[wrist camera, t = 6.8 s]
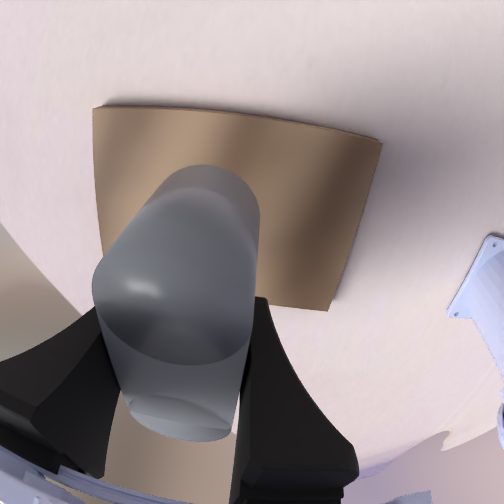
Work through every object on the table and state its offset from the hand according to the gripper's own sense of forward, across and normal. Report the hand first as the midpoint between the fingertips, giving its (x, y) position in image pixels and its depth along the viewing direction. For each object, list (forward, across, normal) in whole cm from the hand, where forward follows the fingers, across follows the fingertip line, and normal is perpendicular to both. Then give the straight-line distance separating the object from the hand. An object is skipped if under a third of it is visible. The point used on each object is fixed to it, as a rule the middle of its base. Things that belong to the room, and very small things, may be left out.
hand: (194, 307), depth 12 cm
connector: (+1, 0, +1) cm, 2 cm away
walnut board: (+8, 0, 0) cm, 8 cm away
